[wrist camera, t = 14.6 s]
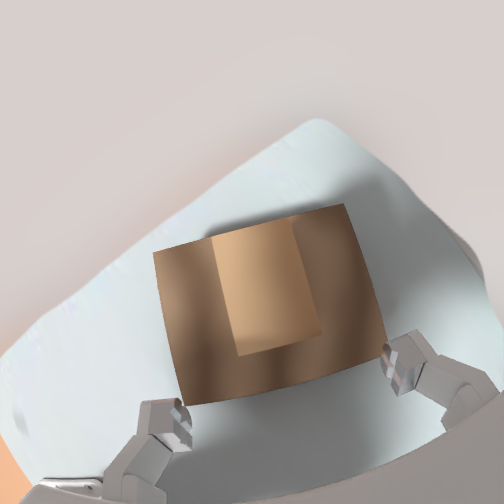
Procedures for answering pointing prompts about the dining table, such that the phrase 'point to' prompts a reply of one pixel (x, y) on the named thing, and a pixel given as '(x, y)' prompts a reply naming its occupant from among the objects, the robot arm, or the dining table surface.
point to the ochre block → (265, 287)
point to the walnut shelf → (280, 358)
